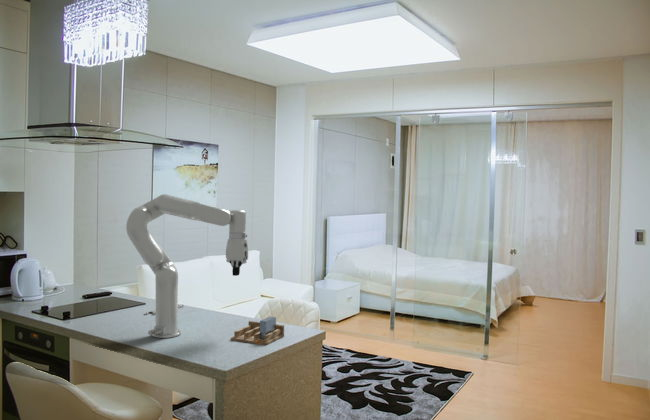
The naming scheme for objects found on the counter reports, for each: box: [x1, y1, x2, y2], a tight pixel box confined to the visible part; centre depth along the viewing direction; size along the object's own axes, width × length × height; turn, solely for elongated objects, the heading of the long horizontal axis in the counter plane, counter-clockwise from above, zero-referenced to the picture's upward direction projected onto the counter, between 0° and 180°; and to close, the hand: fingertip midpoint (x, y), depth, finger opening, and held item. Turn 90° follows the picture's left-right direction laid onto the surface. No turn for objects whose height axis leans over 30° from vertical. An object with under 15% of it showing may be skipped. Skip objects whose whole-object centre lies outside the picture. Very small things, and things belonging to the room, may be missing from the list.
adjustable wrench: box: [145, 304, 185, 316], centre depth 280 cm, size 25×6×2 cm, turn 146°
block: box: [259, 316, 277, 340], centre depth 227 cm, size 9×3×8 cm, turn 157°
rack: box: [230, 320, 285, 346], centre depth 228 cm, size 16×18×5 cm
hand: (235, 275), depth 241 cm, fingers closed
